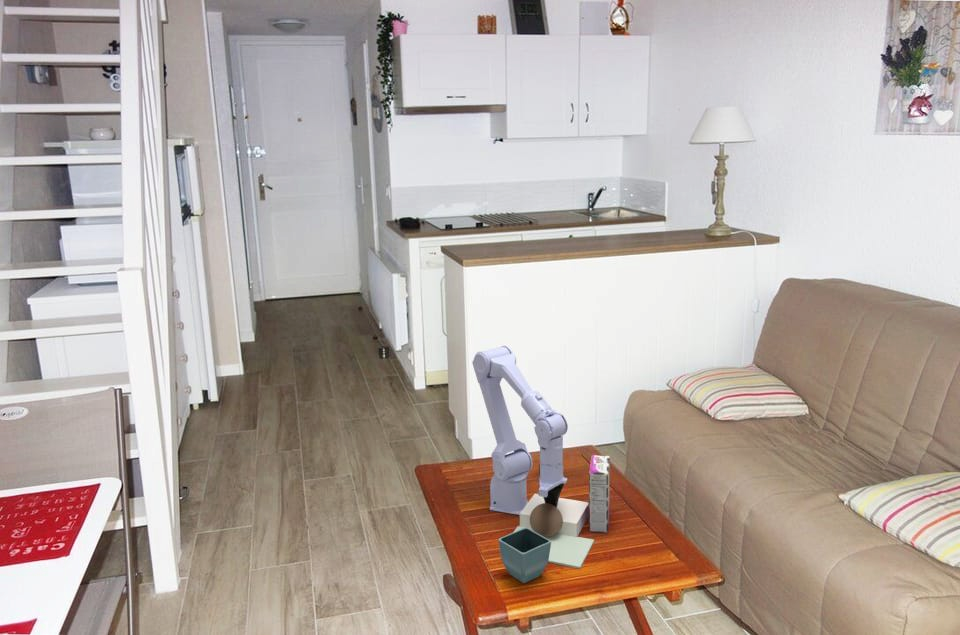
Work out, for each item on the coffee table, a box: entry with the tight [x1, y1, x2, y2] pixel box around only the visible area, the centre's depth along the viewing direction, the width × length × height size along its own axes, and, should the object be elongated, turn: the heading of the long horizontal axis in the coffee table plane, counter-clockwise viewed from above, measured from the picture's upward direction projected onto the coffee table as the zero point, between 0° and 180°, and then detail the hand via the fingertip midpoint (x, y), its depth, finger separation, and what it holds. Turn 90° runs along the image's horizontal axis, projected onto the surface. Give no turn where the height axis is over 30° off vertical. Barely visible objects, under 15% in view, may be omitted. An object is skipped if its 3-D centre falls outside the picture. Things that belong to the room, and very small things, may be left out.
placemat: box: [513, 525, 595, 570], centre depth 181 cm, size 20×13×1 cm, turn 67°
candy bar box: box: [588, 454, 611, 534], centre depth 191 cm, size 11×5×16 cm, turn 168°
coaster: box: [530, 503, 563, 537], centre depth 186 cm, size 8×8×2 cm
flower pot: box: [498, 527, 551, 584], centre depth 169 cm, size 9×9×9 cm
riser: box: [519, 493, 589, 537], centre depth 193 cm, size 15×12×4 cm
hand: (551, 510), depth 190 cm, fingers closed
